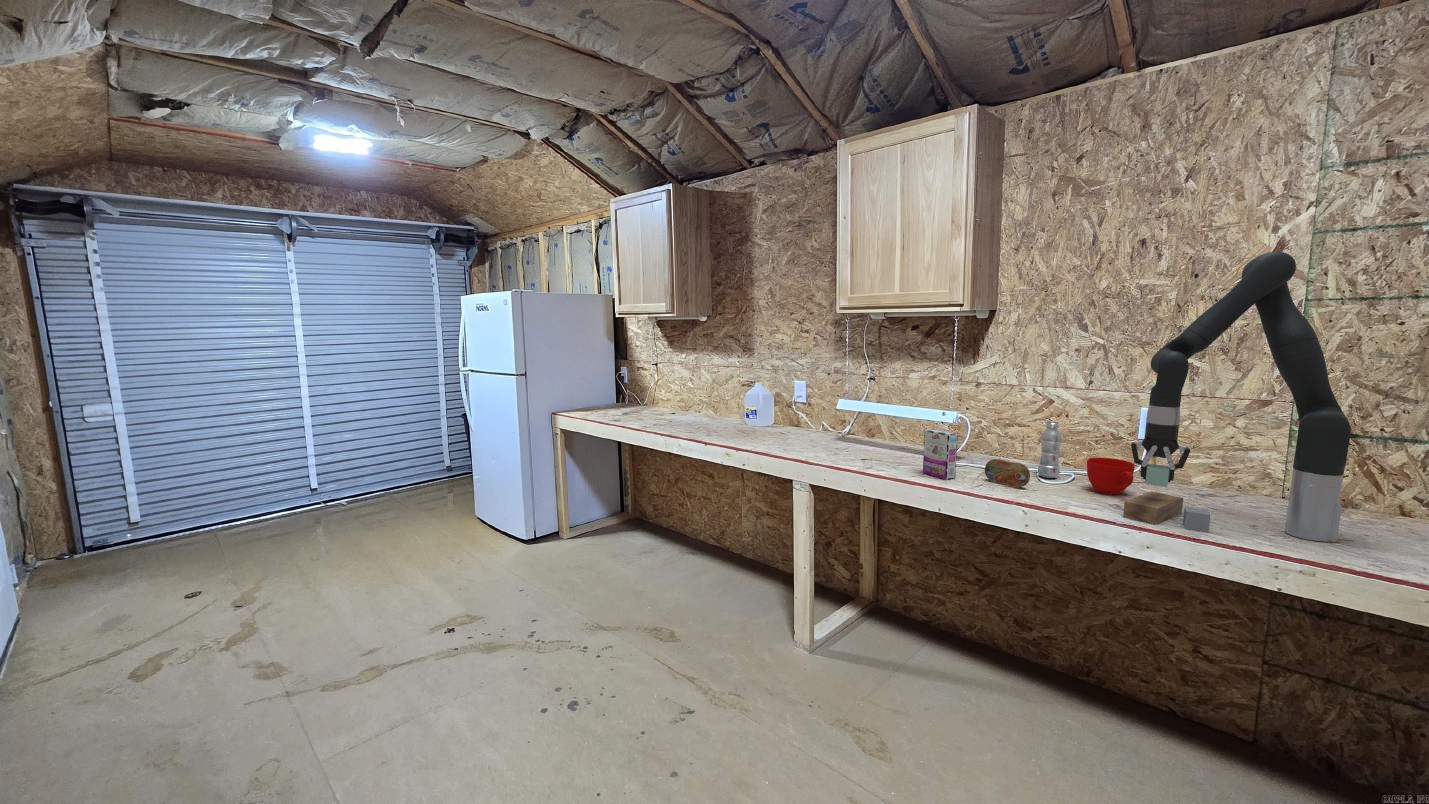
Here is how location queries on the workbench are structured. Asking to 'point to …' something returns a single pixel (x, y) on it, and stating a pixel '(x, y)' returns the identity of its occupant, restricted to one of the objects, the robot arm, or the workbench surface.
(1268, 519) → the workbench surface
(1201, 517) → the slate cube
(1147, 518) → the walnut block
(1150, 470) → the green cube
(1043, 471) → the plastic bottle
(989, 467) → the tin
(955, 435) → the candy bar box
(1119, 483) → the ceramic cup
